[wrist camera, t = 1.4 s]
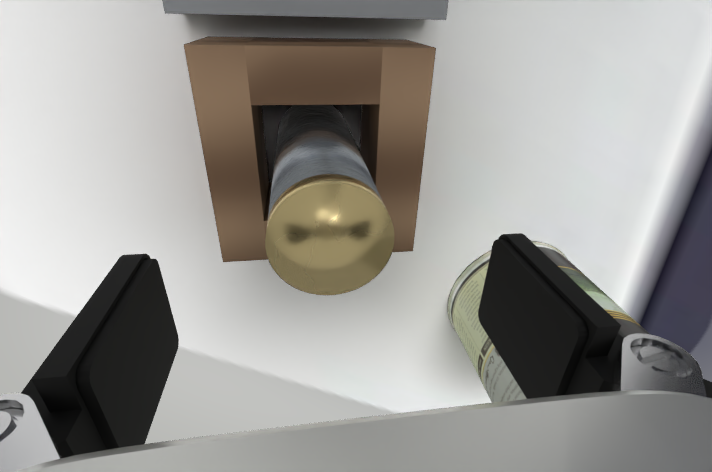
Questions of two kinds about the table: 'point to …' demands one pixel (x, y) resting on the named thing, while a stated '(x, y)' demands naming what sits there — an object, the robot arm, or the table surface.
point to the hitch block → (307, 87)
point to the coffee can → (479, 344)
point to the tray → (314, 8)
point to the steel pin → (324, 206)
